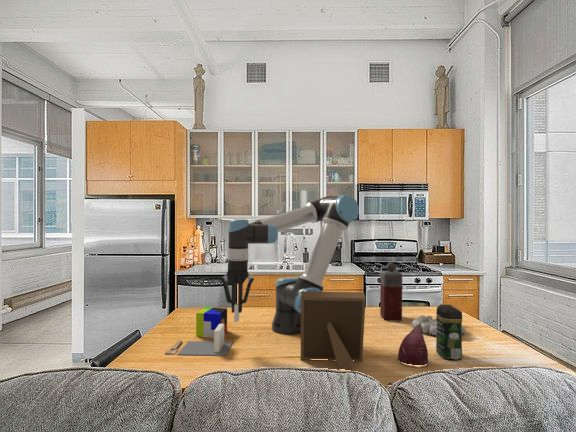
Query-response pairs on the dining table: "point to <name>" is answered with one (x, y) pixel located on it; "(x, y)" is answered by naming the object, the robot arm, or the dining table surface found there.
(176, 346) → the wooden turner
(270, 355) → the dining table surface
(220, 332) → the tile
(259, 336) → the dining table surface
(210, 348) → the mat
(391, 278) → the dark red tall bottle
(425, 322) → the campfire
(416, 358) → the vegetable
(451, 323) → the coffee jar
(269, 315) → the dining table surface
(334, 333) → the photo frame
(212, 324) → the puzzle toy
